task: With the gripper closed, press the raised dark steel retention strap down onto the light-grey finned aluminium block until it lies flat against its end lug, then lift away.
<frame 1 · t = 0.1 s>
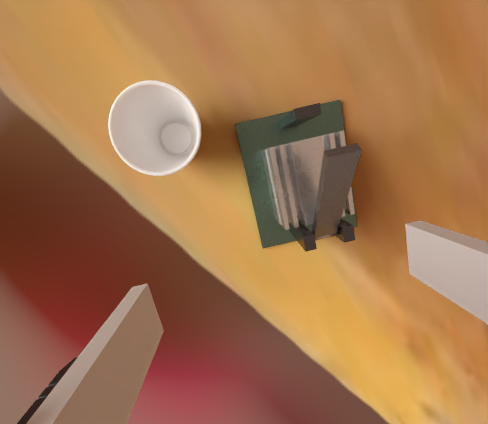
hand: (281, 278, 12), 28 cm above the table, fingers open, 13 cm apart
cup: (177, 138, 37), on the table
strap: (330, 202, 27), point 13 cm above the table, hinge at 40.0°
green circuit board: (298, 177, 39), on the table
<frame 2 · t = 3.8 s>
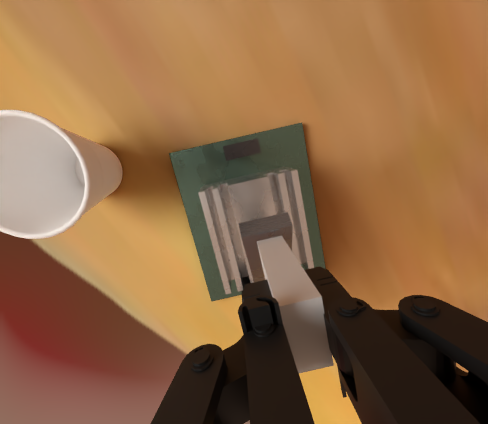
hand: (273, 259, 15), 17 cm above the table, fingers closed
cup: (98, 170, 30), on the table
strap: (271, 274, 20), point 13 cm above the table, hinge at 39.0°, touching gripper
green circuit board: (252, 216, 32), on the table
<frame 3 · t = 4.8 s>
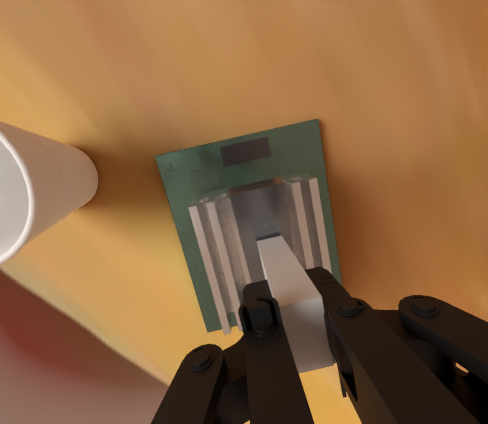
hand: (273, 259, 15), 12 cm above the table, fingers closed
cup: (69, 176, 24), on the table
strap: (274, 282, 17), point 10 cm above the table, hinge at 15.0°, touching gripper
green circuit board: (257, 232, 27), on the table
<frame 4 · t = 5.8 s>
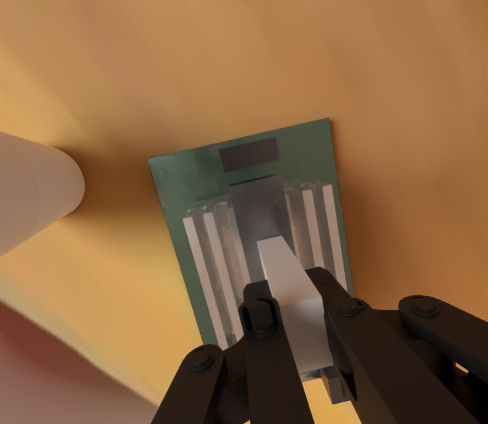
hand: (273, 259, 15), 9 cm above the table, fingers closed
cup: (53, 181, 22), on the table
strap: (277, 290, 16), point 9 cm above the table, hinge at 1.8°, touching gripper
green circuit board: (260, 243, 24), on the table
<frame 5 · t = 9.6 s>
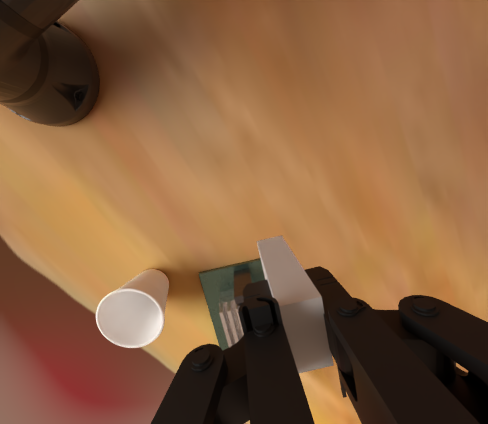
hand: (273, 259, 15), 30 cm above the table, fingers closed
cup: (153, 282, 47), on the table
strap: (255, 340, 41), point 9 cm above the table, hinge at 1.8°
green circuit board: (251, 308, 49), on the table
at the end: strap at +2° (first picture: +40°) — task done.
